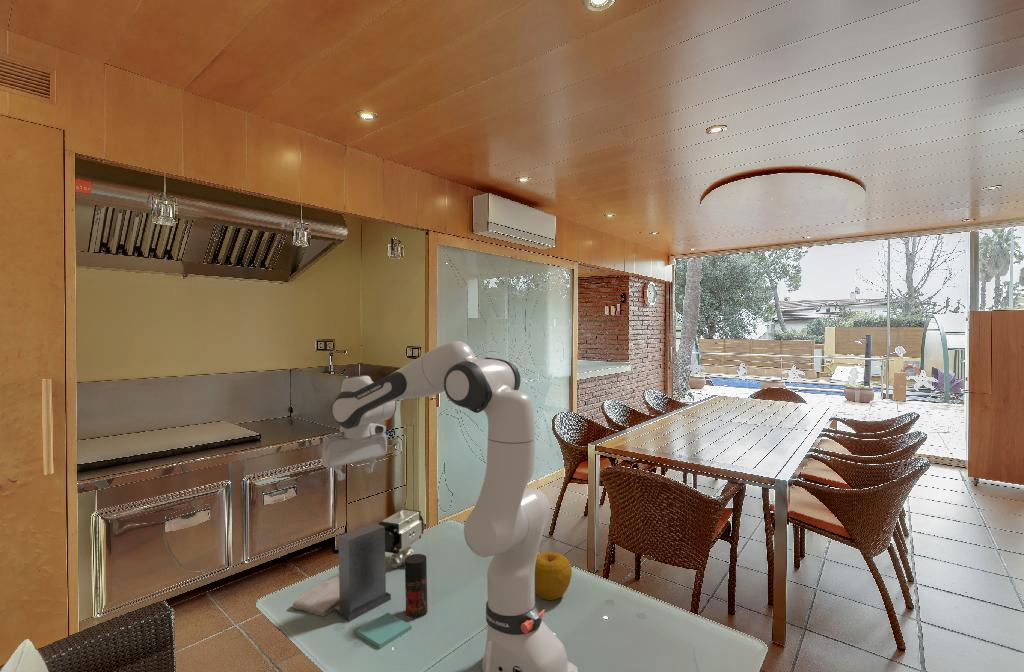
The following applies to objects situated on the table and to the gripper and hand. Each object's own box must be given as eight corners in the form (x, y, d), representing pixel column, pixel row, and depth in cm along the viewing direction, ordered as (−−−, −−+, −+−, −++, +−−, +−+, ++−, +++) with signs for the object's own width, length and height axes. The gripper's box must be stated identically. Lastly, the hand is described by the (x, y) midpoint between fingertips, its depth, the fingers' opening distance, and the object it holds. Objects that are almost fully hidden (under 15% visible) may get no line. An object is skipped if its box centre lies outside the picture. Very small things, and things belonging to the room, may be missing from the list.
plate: (411, 629, 126) (411, 625, 126) (379, 648, 119) (379, 644, 119) (387, 616, 133) (387, 612, 133) (356, 634, 125) (356, 630, 125)
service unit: (390, 599, 141) (389, 526, 142) (348, 621, 130) (347, 542, 131) (376, 592, 146) (375, 521, 146) (334, 613, 135) (333, 536, 135)
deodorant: (401, 612, 134) (400, 558, 134) (419, 604, 138) (418, 552, 139) (413, 621, 130) (412, 565, 130) (431, 612, 134) (430, 558, 134)
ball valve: (397, 577, 154) (396, 522, 155) (375, 573, 158) (374, 519, 158) (428, 554, 171) (427, 504, 171) (408, 551, 174) (407, 502, 174)
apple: (522, 587, 146) (522, 550, 147) (561, 580, 150) (560, 543, 151) (538, 609, 134) (537, 568, 134) (580, 601, 138) (579, 561, 138)
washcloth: (367, 588, 149) (367, 578, 149) (324, 619, 132) (324, 608, 133) (337, 581, 154) (337, 572, 154) (292, 611, 137) (291, 600, 137)
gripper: (329, 437, 132) (329, 487, 132) (390, 426, 148) (390, 470, 148) (317, 433, 136) (317, 482, 136) (377, 423, 152) (377, 466, 152)
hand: (355, 476), depth 142 cm, fingers open, 8 cm apart
